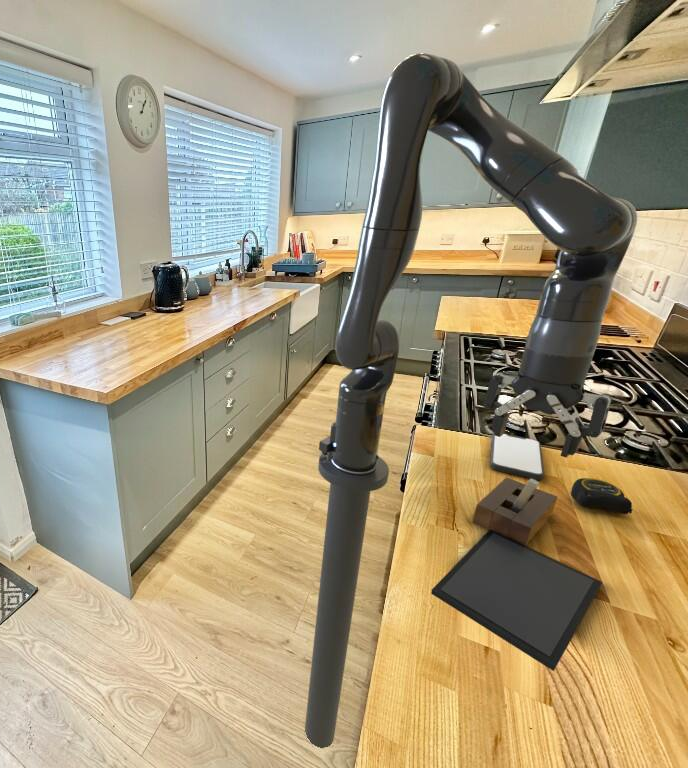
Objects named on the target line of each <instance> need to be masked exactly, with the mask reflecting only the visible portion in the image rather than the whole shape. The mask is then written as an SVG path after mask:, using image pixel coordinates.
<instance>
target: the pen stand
mask: <svg viewBox="0 0 688 768" xmlns="http://www.w3.org/2000/svg"><path fill="white" fill-rule="evenodd" d="M526 484H527V483H523V482H520V481H518V480H516V479H513V478H510V477H508V476H506V477H505V478H504V479H503V480H502V481H500V482H499V483H498V484H497V485H496V486H495V487H494V488H492V489H491V490H490V492H489V493H487V495H485V496H484V497H483V498H482V499H481V500H480V501H479V502H478V503H477V504H476V507H475V511H474V514H473V518H472V521H471V522H472V523H473V524H474V525H477V526H478V527H481V528H482V529H485V530H487V531H489V530H490V529H491V530H493V531H495V532H497V533H499V534H501V535H504V536H506V537H508V538H510V539H512V540H514V541H516V542H518V543H521V544H523V545H525V546H528V544H529V543H530V542H531V541H532V539H533V538H534V537H535V535H536V534H537V533H538V532H539V531H540V530H541V528H542V527H543V526H544V525H545V524H546V522H547V521H548V520H549V518H550V517H551V516H552V515H553V512H554V508H555V506H556V503H557V500H558V498H559V497H558V496H557V495H554V494H552V493H549V492H548V491H544V490H542V489H539V488H536V489H535V490H534V492H533V494H532V495H531V497H530V498H529V500H528V501H527V503H526V504H525V506H524V507H523V509H522V510H521V511H520V512H519V513H516V512H514V511H511V510H510V509H511V508H512V506H513V504H514V503H515V501H516V500H517V498H518V496H519V495H520V493H521V492H522V490H523V489H524V487H525V485H526Z"/></svg>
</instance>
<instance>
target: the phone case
mask: <svg viewBox="0 0 688 768" xmlns="http://www.w3.org/2000/svg"><path fill="white" fill-rule="evenodd" d="M543 463H544V462H543V452H542V444H541V442H540V441H539V440H537V439H533V438H527V437H523V436H518V435H513V434H507V433H504V434H503V435H502V436H501V437H498V436H495V432H493V433H492V436H491V442H490V460H489V467H490V468H491V469H492V470H494V471H498V472H502V473H505V474H508V475H509V474H510V475H514V476H517V477H523V478H526V479H529V480H530V479H531V478H532V479H534V480H536V481H541V480H543V478H544V475H545V471H544V464H543Z"/></svg>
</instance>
